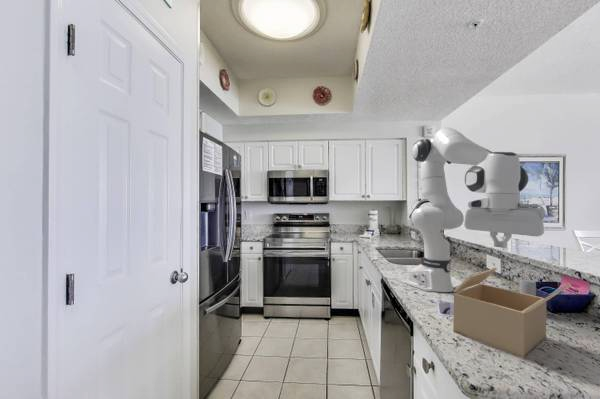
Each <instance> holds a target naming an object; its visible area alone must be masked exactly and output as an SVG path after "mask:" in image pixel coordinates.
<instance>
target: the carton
mask: <svg viewBox="0 0 600 399" xmlns="http://www.w3.org/2000/svg"><path fill="white" fill-rule="evenodd" d="M545 298H546V297H541V296H538V295H536V296H533V295H528V294H524V293H520V292H519V291H515V290H510V289H505V288H501V287H497V286H492V285H487V284H483V283H479V284H476V285H473V286H471V287H468V288H465V289H462V290H460V291H457V292H454V293H453V303H454V317H453V332H454V333H456V334H458V335H461V336H463V337H466V338H468V339H470V340H474V341H477V342H479V343H482V344H484V345H487V346H490V347H492V348H495V349H497V350H500V351H503V352H505V353H508V354H511V355H513V356H516V357H519V358H521V359H525V358H527V356H528V355H529V354H530V353H531V352H532V351H533V350H535V349H536V348H537V347H538V346H539V345H540V344H541V343H542V342H543V341H544V340H546V338H547V301H546V302H544V303H543V304H541V305H539V306H538V307H536V308H535V309H533V310H531V311H530V312H528V313H526V312H525V311H526V310H527V309H529V308H531V307H532V306H534V305H535V304H537V303H538V302H540V301H542V300H543V299H545Z"/></svg>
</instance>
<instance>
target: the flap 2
mask: <svg viewBox="0 0 600 399" xmlns="http://www.w3.org/2000/svg"><path fill="white" fill-rule="evenodd" d="M572 284H573V283H571V282H569V283H567V284H565V285H564V286H562V287H560V288H559V289H557V290H556V291H554V292H552V293H551V294H550V295H548V296H546V297H544V298H545V299H543V300H542V301H540V302H538V303H537V304H535V305H534V306H532V307H531V308H529V309H527V310H526V311H525V312H526V313H528V312H530V311H531V310H533V309H535V308H536V307H538V306H539V305H541V304H543V303H544V302H546V303H547V301H549V300H550V299H552V298H553V297H555V296H557V295H558V294H559V293H561V292H562V291H564V290H566V289H567V288H569V287H570V286H572Z"/></svg>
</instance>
